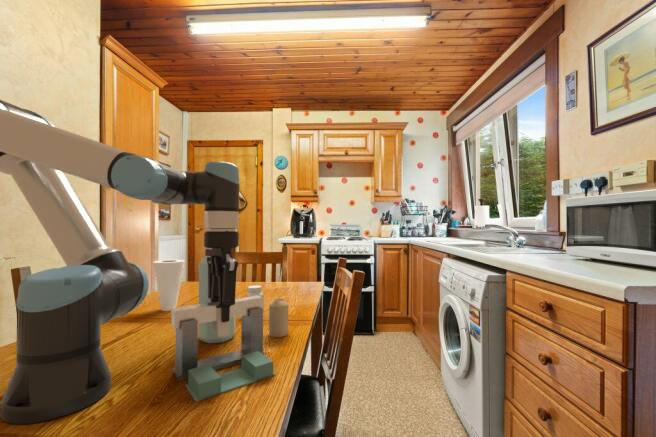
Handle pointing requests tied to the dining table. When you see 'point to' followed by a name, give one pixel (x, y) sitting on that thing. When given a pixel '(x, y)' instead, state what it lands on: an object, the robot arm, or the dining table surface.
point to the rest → (228, 376)
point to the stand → (189, 355)
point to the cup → (168, 281)
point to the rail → (214, 310)
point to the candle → (278, 318)
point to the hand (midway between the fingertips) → (220, 333)
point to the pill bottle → (255, 291)
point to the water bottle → (205, 328)
